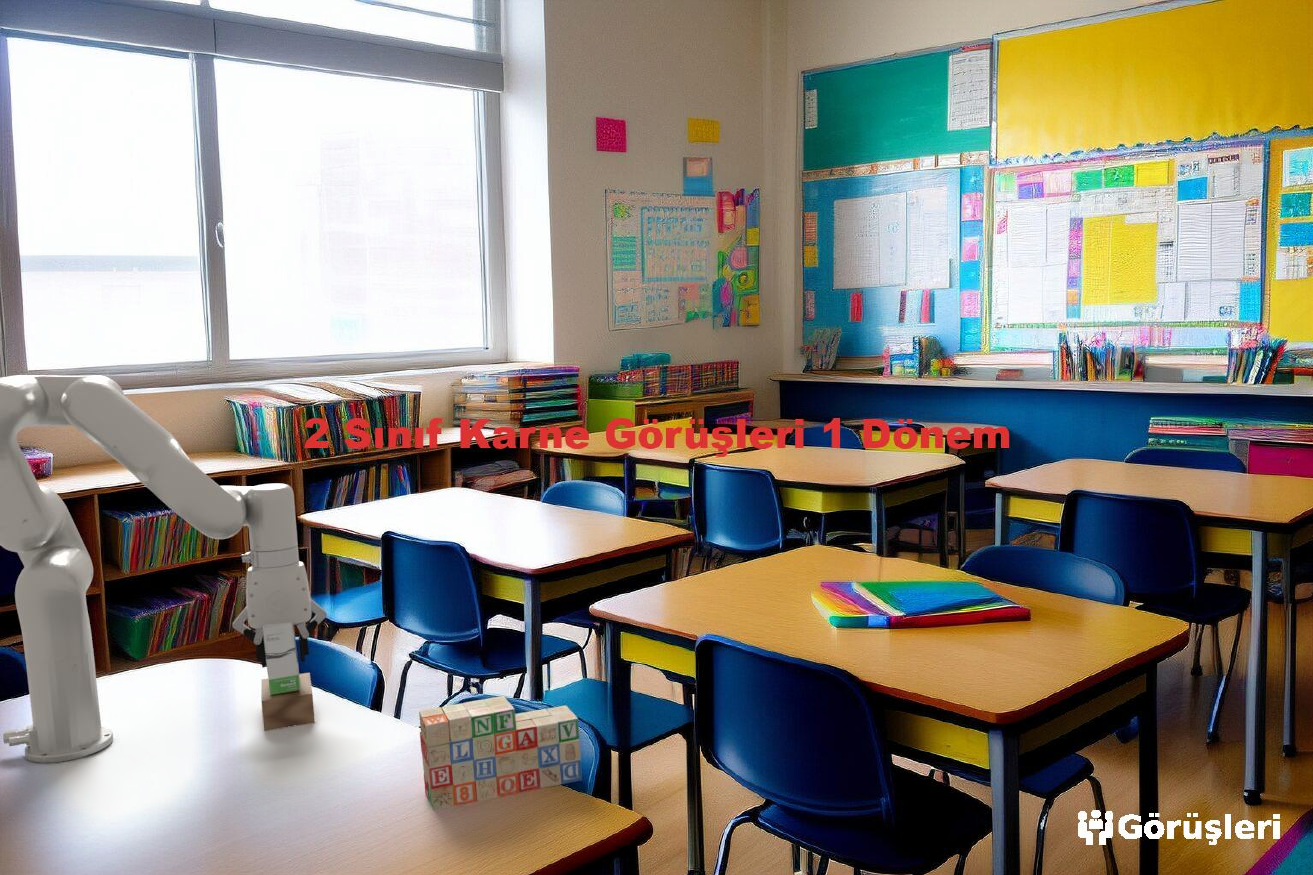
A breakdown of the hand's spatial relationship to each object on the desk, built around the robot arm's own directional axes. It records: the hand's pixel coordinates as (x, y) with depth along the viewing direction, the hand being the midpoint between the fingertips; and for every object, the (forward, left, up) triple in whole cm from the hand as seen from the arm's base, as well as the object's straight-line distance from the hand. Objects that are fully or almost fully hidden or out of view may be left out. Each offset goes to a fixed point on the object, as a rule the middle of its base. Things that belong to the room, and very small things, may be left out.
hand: (283, 661), depth 189 cm
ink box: (0, 0, -4) cm, 4 cm away
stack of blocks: (+28, -44, -10) cm, 54 cm away
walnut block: (0, 0, -9) cm, 9 cm away
